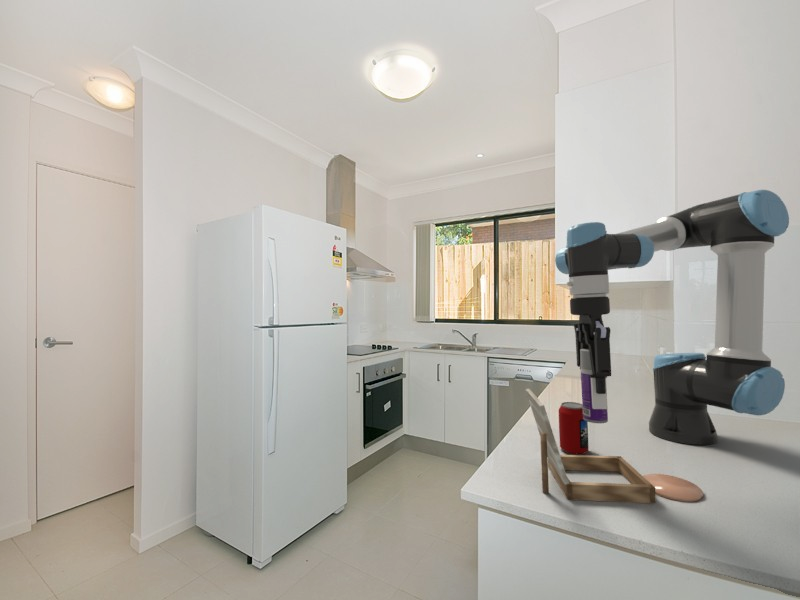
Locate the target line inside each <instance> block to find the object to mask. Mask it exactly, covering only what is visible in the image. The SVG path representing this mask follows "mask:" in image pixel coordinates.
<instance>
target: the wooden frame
mask: <svg viewBox="0 0 800 600" xmlns="http://www.w3.org/2000/svg"><path fill="white" fill-rule="evenodd" d="M525 392H526V394H527V397H528V401H529V402H528V403H529V405H530V408H531V412H532V415H533V417H534V421H535V424H536V427H537V429H538V432H539V433H538V434H539V436H540V438H539V439H540V457H541V459H540V462H541V483H542V484H541V487H542V491H541V492H542V493H543V494H546V495H547V494H550V493H549V492H550V490H549V489H550V487H549V471H550V473H551V474H552V476H553V477H554V480H555V481H556V482H557V484H558V486H559V487H560V490H561V491H562V493H563V494H564V496H565V498H566V499H567V500H569V501H571V500H572V501H593V502H594V501H595V502H617V503H618V502H619V503H639V504H641V503H642V504H643V503H645V504H657V498H656V496H657V495H656V494H655V487H654V486H653V485H652V484H651V483H650V482H649V481H648V480H646V479H645V478H644V477H643V476H644V475H642V474H641V473H640V472H639V471H638V470H637V469H635V468H634V467H633V465H632V464H630V463H629V462H628V461H626V459H624V458H623V457H622V456H620V455H611V456H610V455H584V454H582V455H574V454H560V451H559V448H558V445H557V441H556V438H555V435H554V432H553V428H552V426H551V422H550V420H549V416H548V413H547V411H546V407H545V405H544V403H543V402H542V401H541V400H540V399H539V398H538V397H537V396H536V395H535V394H534V392H533V391H532V390H531V389H530V388H525ZM566 471H593V472H594V471H597V472H619V474H621V475H622V476H623V477H624V478H625V480H626V481H628V482H629V483H617V482H616V483H615V482H614V483H612V482H587V481H586V482H582V481H581V482H580V481H571V480H570V478H569V477H568V475H567V472H566Z"/></svg>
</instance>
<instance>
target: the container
mask: <svg viewBox="0 0 800 600" xmlns="http://www.w3.org/2000/svg"><path fill="white" fill-rule="evenodd" d="M580 363H581V370H580V381H581V382H580V384H581V385H580V386H581V388H580V389H581V402H582V403H581V404H582V406H583V419H584V420H585V421H587V422H588V423H592V424H606V423H608V422H609V418H608V417H609V416H608V409H593V408H592V394H591V378H590V377H589V375H592V367H591V360H590V353H589V349H580Z"/></svg>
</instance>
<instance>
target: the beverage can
mask: <svg viewBox="0 0 800 600" xmlns="http://www.w3.org/2000/svg"><path fill="white" fill-rule="evenodd" d="M588 423H589V422H587V421H585V420H584V419H583V406H582V403H579V402H574V401H564V402H561V405H560V407H559V408H558V431H559V432H558V433H559V447H560V449H561V450H562V451H564V452H566V453H567V454H568V455H584V454H586V453H588V452H589V425H588Z"/></svg>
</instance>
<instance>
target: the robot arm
mask: <svg viewBox="0 0 800 600" xmlns="http://www.w3.org/2000/svg"><path fill="white" fill-rule="evenodd" d="M789 216H790V215H789V212H788V208H787V206H786V204H785V203H784V201H783V200H782V199H781V197H780V196H779V195H778V194H776V193H775V192H774V191H771V190H768V189H758V190H757V189H756V190H753V191H748V192H741V193H739V194H735V195H732V196H728V197H724V198H721V199H717V200H711V201H709V202H704V203H700V204H697V205H695V206H692V207H689V208H686V209H683V210H681V211H679V212H676V213H673V214H670V215H668V216H663V217H660V218H658V219H657V220H656V221H655V222H654V223H651V224H647V225H644V226H641V227H637V228H631V229H629V230H625V231H622V232H618V233H607V232H608V231H607V228H606V225H605V223H603V222H599V221H598V222H597V221H594V222H593V221H591V222H584V223H578V224H575V225H573V226H570V227H569V228H568V229H567V231H566V246H564V247H562V248H560V249H559V250H557V252H556V254H555V257H554V258H555V259H554V262H555V266H556V268H557V270H558V271H559V272H561V273H562V274H565V275H568V281H567V282H566V286H567V287H569V295H570V296H572V297H571V298H570V299H569V308H570V309H569V311H570V314H571V315H573V316H579V319H578V323H574V324H573V329H574V334H575V335H574V336H575V350H576V351H575V352H576V353H575V355H576V366H577V367H579V370H580V371H581V363H580V349H589V353H590V360H591V367H592V375H589V377H590V378H591V394H592V408H593V409H607V410H608V391H607V378H608V377H612V362H611V344H610V343H611V342H610V339H611V338H610V337H611V328H610V326H607V327H605V325H604V321H603V317H602V315H609V314H610V312H611V307H610V303H611V301H610V298H609V296H607V294H609V293H610V282H609V281H610V278H609V270H619V269H635V268H640V267H641V268H642V267H644V266H646V265H648V264H649V263H650V261H652V259H653V257H654V254H655V252H659V251H667V252H671V251H675V250H677V249H678V250H679V249H680V250H681V249H687V248H698V247H707V246H710V249H709V250H711V251H712V252H713V253H714V254H716V255H717V266H716V267H717V268H716V271H717V272H716V299H715V329H714V330H715V331H714V348H713V349H711V350H709V351H708V352H707V353H706V355H705V353H701V352H678V353H677V352H676V353H663V354H657V355H656V356H655V357H654V358H653V367H652V368H653V369H652V371H653V384H654V385H653V387H654V388H653V389H654V403H655V404H654V408H653V409H652V413H651V416H650V418H649V421H648V431H649V432H650V433H651V434H652V435H654V436H656V437H658V438H661V439H662V440H663V439H664V440H668V441H671V442H675V443H679V444H680V443H681V444H687V445H694V446H695V445H698V446H699V445H700V446H701V445H702V446H703V445H712V444H715V443H717V442H718V432H717V430H716V428H715V427H716V426H715V425H714V422H713V421H712V419H711V415H710V414H709V411H708V406H712V407H715V408H721V409H726V410H730V411H734V412H735V413H739V414H747V415H750V416H751V415H753V416H765V415H767V414H770V413H771V412H773V411H774V410H775V409H776V408H777V407H778V406H779V405H780V403H781V401H782V399H783V397H784V394H785V388H786V384H785V383H786V382H785V378H783V374H782V372H781V371H780V370H779V369H776V368H774V367H772V359H771V358H770V357H768V355H766V354H765V353H764V351H763V342H764V341H763V339H764V338H763V337H764V335H763V334H764V333H763V331H764V302H765V301H764V300H765V299H764V298H765V296H764V295H765V268H766V267H765V265H766V263H765V261H766V260H765V259H766V253H767V252H768V251H769V250H771V249H772V248H773V247H775V237H779V236H781V235H783V234H785V233H786V232H787V229H788V228H789V224H790V217H789Z"/></svg>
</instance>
